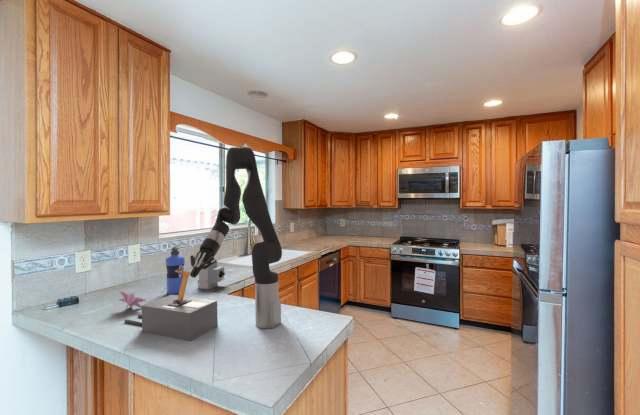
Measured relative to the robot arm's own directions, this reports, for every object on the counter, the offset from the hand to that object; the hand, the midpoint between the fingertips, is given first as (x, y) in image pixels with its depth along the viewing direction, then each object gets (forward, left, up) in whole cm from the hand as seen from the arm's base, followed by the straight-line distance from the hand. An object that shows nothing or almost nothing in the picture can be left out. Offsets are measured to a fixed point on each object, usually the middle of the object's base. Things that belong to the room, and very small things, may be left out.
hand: (192, 276), depth 122 cm
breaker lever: (0, +7, -8) cm, 10 cm away
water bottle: (+40, -28, -19) cm, 53 cm away
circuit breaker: (+28, -43, -19) cm, 55 cm away
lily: (+37, -1, -19) cm, 42 cm away
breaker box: (+7, +7, -19) cm, 21 cm away
